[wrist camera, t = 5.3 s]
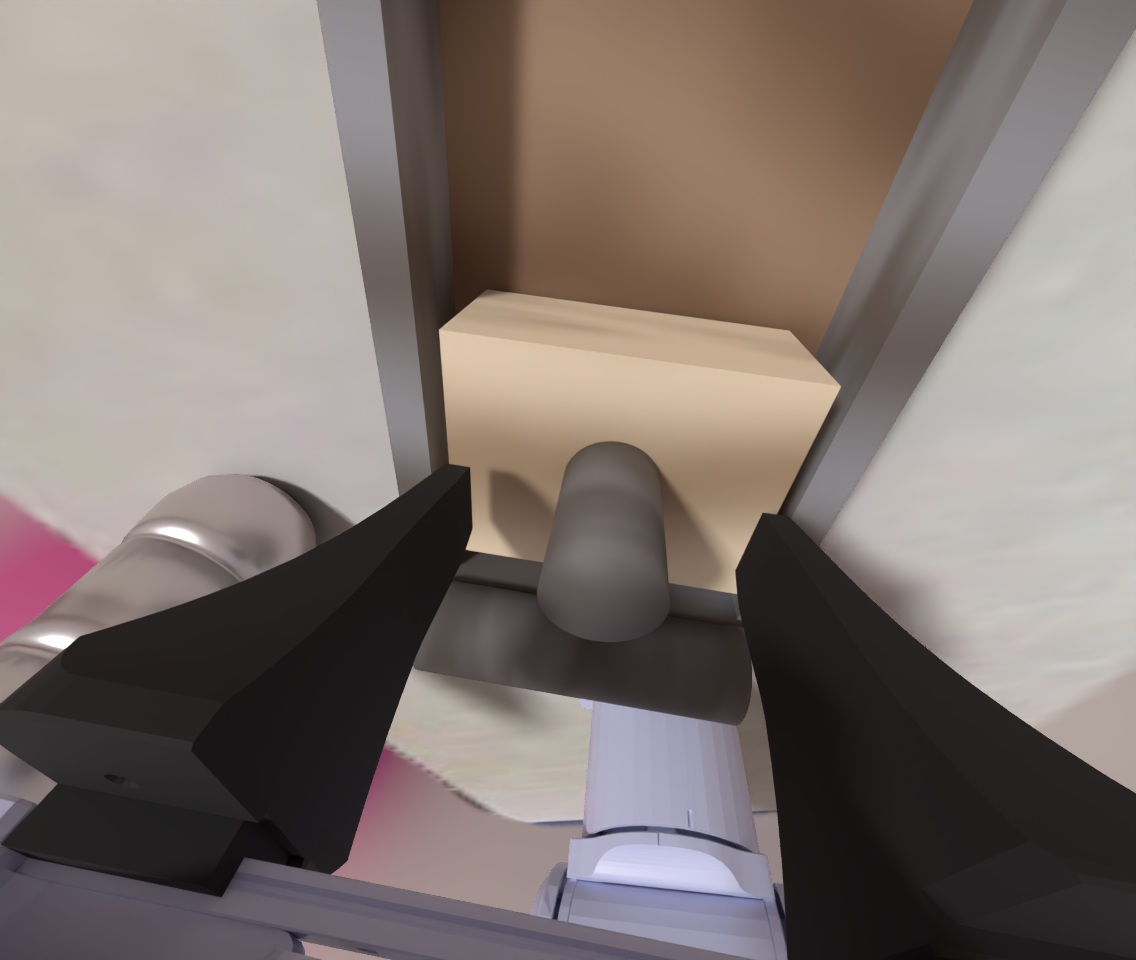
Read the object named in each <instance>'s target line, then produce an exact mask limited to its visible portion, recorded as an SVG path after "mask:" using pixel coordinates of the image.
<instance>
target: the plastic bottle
mask: <svg viewBox="0 0 1136 960" xmlns="http://www.w3.org/2000/svg"><path fill="white" fill-rule="evenodd" d="M314 548H316V536H315V529H314V527H313V524H312V522H311V520H310V518H309V517H308V515H307V513H306V512H305V511H304V510H303V509H302V507H301V506H300V505H299V504H298V503H297V502H296V501H295V500H294V499H293V498H291V497H290V496H289V495H288V494H286V493H285V492H283V491H282V490H281V489H279V488H277V487H276V486H274V485H272V484H270V483H268V482H266V481H263V480H261V479H258V478H255V477H251V476H248V475H240V474H230V475H214V476H207V477H204V478H201V479H198V480H196V481H194V482H192V483H190V484H188V485H186V486H184V487H182V488H180V489H178V490H176V491H174V492H172V493H170V494H168V495H167V496H166V497H164V498H163V499H162V500H161V501H160V502H159V503H157V504H156V505H155V506H154V507H153V508H152V509H151V510H150V511H149V512H148V513H147V514H146V515H145V516H144V517H143V518H142V519H141V520H139V521H138V522H137V524H136V525H135V526H134V527H133V528H132V529H131V530H130V532H129V533H128V534H127V535H126V536H125V537H124V539H123V541H122V543H121V544H120V545H119V546H117V547H116V548H115V549H114V550H113V551H112V552H110V553H109V554H108V555H107V556H106V557H105V558H104V559H102V560H101V561H100V562H99V563H98V564H97V565H96V566H94V567H93V568H92V569H91V570H90V571H89V572H88V573H86V574H85V575H84V576H83V577H82V578H81V579H80V580H78V581H77V582H76V583H75V584H74V585H73V586H72V587H70V588H69V589H68V590H67V591H66V592H65V593H64V594H62V595H61V596H60V597H59V598H58V599H57V600H56V601H55V602H53V603H52V604H51V605H50V606H49V607H48V608H47V609H45V610H44V611H43V612H42V613H41V614H40V615H38V616H37V617H36V618H35V619H33V620H32V621H30V622H29V623H28V624H26V625H25V626H23V627H22V628H21V629H19V630H18V631H16V632H15V633H13V634H12V635H10V636H9V637H8V638H6V639H5V640H3V641H2V642H1V644H0V703H1V702H2V701H4V700H5V699H6V698H7V697H8V696H10V695H11V694H12V693H13V692H14V691H15V690H17V689H18V688H19V687H20V686H21V685H23V684H24V683H25V682H26V681H27V680H28V679H30V678H31V677H32V676H33V675H34V674H36V673H37V672H38V671H39V670H40V669H41V668H43V667H44V666H45V665H46V664H47V663H49V662H50V661H51V660H52V659H53V658H54V657H56V656H57V655H58V654H59V653H60V652H62V651H63V650H64V649H65V648H66V647H67V646H69V645H70V644H71V643H72V642H73V641H75V640H76V639H77V638H78V637H80V636H82V635H85V634H89V633H92V632H96V631H99V630H102V629H106V628H109V627H112V626H115V625H118V624H122V623H125V622H128V621H131V620H134V619H138V618H141V617H144V616H147V615H150V614H154V613H157V612H160V611H163V610H166V609H169V608H172V607H175V606H178V605H181V604H183V603H186V602H189V601H192V600H194V599H197V598H200V597H203V596H205V595H208V594H211V593H214V592H216V591H219V590H221V589H224V588H226V587H229V586H232V585H234V584H237V583H239V582H242V581H244V580H247V579H249V578H251V577H253V576H256V575H258V574H260V573H262V572H265V571H267V570H269V569H271V568H274V567H276V566H278V565H280V564H283V563H285V562H287V561H289V560H292V559H294V558H296V557H298V556H300V555H302V554H304V553H306V552H308V551H310V550H312V549H314ZM57 784H58V783H56V782H54V781H53V780H51V779H50V778H48V777H47V776H45V775H44V774H42V773H41V772H39V771H38V770H36V769H35V768H33V767H32V766H30V765H29V764H27V763H26V762H24V761H23V760H21V759H20V758H18V757H17V756H15V755H14V754H12V753H11V752H9V751H8V750H6V749H5V748H4V747H3V746H1V745H0V793H1V794H7V795H11V796H15V797H19V798H22V799H25V800H28V801H30V802H33V803H35V804H37V805H38V804H39V803H40V802H41V801H42V800H43V799H44V798H45V796H46V795H47V794H48V793H49V792H50V791H51V790H52V789H53V788H54V787H55V786H56V785H57Z"/></svg>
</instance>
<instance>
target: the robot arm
mask: <svg viewBox="0 0 1136 960" xmlns="http://www.w3.org/2000/svg"><path fill="white" fill-rule="evenodd" d="M472 529H473V522H472V498H471V473H470V467H466V466H460V465H454V464H447V463H446V464H445V465H443V466H442V467H440V468H439V469H438V470H436V471H435V472H433V473H432V474H431V475H429V476H428V477H426V478H425V479H424V480H422V481H421V482H419V483H418V484H417V485H415V486H414V487H412V488H411V489H410V490H408V491H407V492H405V493H404V494H403V495H401V496H400V497H398V498H397V499H395V500H394V501H392V502H391V503H390V504H388V505H387V506H385V507H384V508H382V509H381V510H379V511H377V512H376V513H374V514H373V515H371V516H369V517H368V518H366V519H365V520H363V521H361V522H360V523H358V524H357V525H355V526H353V527H352V528H350V529H349V530H347V531H345V532H343V533H342V534H340V535H338V536H336V537H334V538H333V539H331V540H329V541H327V542H325V543H323V544H321V545H320V546H318V547H316V548H314V549H312V550H310V551H308V552H306V553H304V554H302V555H300V556H298V557H296V558H294V559H292V560H289V561H287V562H285V563H283V564H280V565H278V566H276V567H274V568H271V569H269V570H267V571H265V572H262V573H260V574H258V575H256V576H253V577H251V578H249V579H247V580H244V581H242V582H239V583H237V584H234V585H232V586H229V587H226V588H224V589H221V590H219V591H216V592H214V593H211V594H208V595H205V596H203V597H200V598H197V599H194V600H192V601H189V602H186V603H183V604H181V605H178V606H175V607H172V608H169V609H166V610H163V611H160V612H157V613H154V614H150V615H147V616H144V617H141V618H138V619H134V620H131V621H128V622H125V623H122V624H118V625H115V626H112V627H109V628H106V629H102V630H99V631H96V632H92V633H89V634H85V635H82V636H80V637H78V638H77V639H76V640H75V641H73V642H72V643H71V644H70V645H69V646H67V647H66V648H65V649H64V650H63V651H62V652H60V653H59V654H58V655H57V656H56V657H54V658H53V659H52V660H51V661H50V662H49V663H47V664H46V665H45V666H44V667H43V668H41V669H40V670H39V671H38V672H37V673H36V674H34V675H33V676H32V677H31V678H30V679H28V680H27V681H26V682H25V683H24V684H23V685H21V686H20V687H19V688H18V689H17V690H15V691H14V692H13V693H12V694H11V695H10V696H8V697H7V698H6V699H5V700H4V701H2V702H1V703H0V745H1V746H3V747H4V748H5V749H6V750H8V751H9V752H11V753H12V754H14V755H15V756H17V757H18V758H20V759H21V760H23V761H24V762H26V763H27V764H29V765H30V766H32V767H33V768H35V769H36V770H38V771H39V772H41V773H42V774H44V775H45V776H47V777H48V778H50V779H51V780H53V781H54V782H56V783H58V784H57V785H56V786H55V787H54V788H53V789H52V790H51V791H50V792H49V793H48V794H47V795H46V796H45V798H44V799H43V800H42V801H41V802H40V803H39V804H38V805H37V804H35V803H33V802H30V801H28V800H25V799H22V798H19V797H15V796H11V795H7V794H1V793H0V960H320V959H317V958H313V957H310V956H306V955H305V950H304V947H303V945H302V942H301V941H305V942H309V943H315V944H319V945H324V946H329V947H334V948H338V949H343V950H348V951H353V952H358V953H362V954H367V955H372V956H377V957H382V958H387V959H391V960H1136V793H1134V792H1133V791H1131V790H1129V789H1128V788H1126V787H1124V786H1123V785H1121V784H1119V783H1117V782H1116V781H1114V780H1113V779H1111V778H1109V777H1107V776H1106V775H1104V774H1103V773H1101V772H1100V771H1098V770H1096V769H1095V768H1094V767H1092V766H1090V765H1089V764H1087V763H1086V762H1084V761H1083V760H1081V759H1080V758H1078V757H1077V756H1075V755H1073V754H1072V753H1071V752H1069V751H1067V750H1066V749H1064V748H1063V747H1061V746H1060V745H1058V744H1057V743H1055V742H1054V741H1052V740H1051V739H1049V738H1047V737H1046V736H1044V735H1043V734H1042V733H1040V732H1039V731H1037V730H1036V729H1034V728H1033V727H1031V726H1030V725H1028V724H1027V723H1025V722H1024V721H1023V720H1021V719H1020V718H1018V717H1017V716H1015V715H1014V714H1012V713H1011V712H1010V711H1008V710H1007V709H1006V708H1004V707H1003V706H1001V705H1000V704H999V703H997V702H996V701H994V700H993V699H992V698H990V697H989V696H988V695H986V694H985V693H983V692H982V691H981V690H979V689H978V688H977V687H975V686H974V685H972V684H971V683H970V682H968V681H967V680H966V679H965V678H963V677H962V676H961V675H959V674H958V673H957V672H955V671H954V670H953V669H952V668H950V667H949V666H948V665H946V664H945V663H944V662H943V661H942V660H940V659H939V658H938V657H937V656H935V655H934V654H933V653H932V652H931V651H929V650H928V649H927V648H926V647H924V646H923V645H922V644H921V643H919V642H918V641H917V640H916V639H915V638H914V637H912V636H911V635H910V634H909V633H908V632H907V631H905V630H904V629H903V628H902V627H901V626H900V625H899V624H897V623H896V622H895V621H894V620H893V619H892V618H891V617H890V616H889V615H888V614H887V613H885V612H884V611H883V610H882V609H881V608H880V607H879V606H878V605H877V604H876V603H875V602H873V601H872V600H871V599H870V598H869V597H868V596H867V595H866V594H865V593H864V592H863V591H862V590H861V589H860V588H859V587H858V586H857V585H856V584H855V583H854V582H853V581H852V580H851V579H850V578H849V577H848V576H847V575H846V574H845V573H844V572H843V571H842V570H841V569H840V568H839V567H838V566H837V565H836V564H835V563H834V562H833V561H832V560H831V559H830V558H829V557H828V556H827V555H826V554H825V553H824V552H823V551H822V550H821V548H820V547H819V546H818V545H817V544H816V543H815V542H814V541H813V540H812V539H811V538H810V537H809V536H808V535H807V534H806V533H805V532H804V531H803V530H802V529H801V528H800V527H799V526H798V525H797V524H796V523H795V522H794V521H793V520H792V519H791V518H790V517H788V516H782V515H776V514H769V513H762V515H761V517H760V519H759V521H758V523H757V526H756V528H755V530H754V532H753V534H752V536H751V538H750V540H749V542H748V544H747V547H746V549H745V551H744V553H743V555H742V557H741V559H740V561H739V563H738V566H737V568H736V570H735V575H736V587H737V596H738V605H739V611H740V615H741V619H742V624H743V628H744V632H745V636H746V640H747V644H748V648H749V652H750V656H751V660H752V664H753V668H754V672H755V676H756V680H757V684H758V688H759V692H760V696H761V700H762V705H763V710H764V715H765V721H766V728H767V734H768V741H769V748H770V755H771V763H772V771H773V779H774V788H775V796H776V805H777V814H778V825H779V836H780V847H781V857H782V870H783V884H782V883H772V878H771V873H770V868H769V862H768V857H767V856H766V855H765V854H762V853H760V852H759V846H758V841H757V835H756V830H755V824H754V818H753V813H752V807H751V802H750V796H749V791H748V785H747V779H746V774H745V768H744V763H743V757H742V752H741V746H740V741H739V735H738V729H737V725H736V726H734V725H728V724H722V723H717V722H711V721H705V720H700V719H694V718H688V717H682V716H677V715H671V714H665V713H660V712H654V711H648V710H643V709H637V708H631V707H626V706H620V705H614V704H609V703H603V702H597V701H592V700H586V699H580V701H579V704H580V706H581V707H583V708H585V709H591V710H592V718H591V731H590V743H589V755H588V768H587V780H586V793H585V805H584V818H583V830H582V838H571V840H570V848H569V858H568V863H565V862H561V863H558V864H556V865H555V867H554V868H553V869H552V870H551V872H550V874H549V876H548V877H547V878H546V879H545V880H544V882H543V883H542V885H541V886H540V888H539V890H538V892H537V894H536V897H535V900H534V902H533V906H532V909H531V913H530V914H525V913H519V912H514V911H509V910H505V909H500V908H494V907H490V906H485V905H480V904H475V903H470V902H465V901H460V900H455V899H450V898H445V897H440V896H435V895H430V894H425V893H419V892H415V891H409V890H405V889H400V888H394V887H390V886H385V885H380V884H374V883H370V882H365V881H360V880H355V879H349V878H345V877H340V876H335V875H330V874H332V873H333V872H335V871H336V870H337V869H339V868H340V867H341V866H342V865H343V864H344V863H345V862H347V860H348V857H349V854H350V850H351V847H352V844H353V840H354V837H355V834H356V831H357V827H358V824H359V821H360V818H361V815H362V811H363V808H364V805H365V802H366V798H367V795H368V792H369V789H370V785H371V782H372V780H373V777H374V774H375V770H376V767H377V765H378V762H379V758H380V755H381V753H382V750H383V747H384V744H385V741H386V738H387V735H388V732H389V729H390V726H391V723H392V721H393V718H394V715H395V712H396V709H397V707H398V704H399V701H400V698H401V695H402V693H403V690H404V687H405V685H406V682H407V679H408V677H409V674H410V671H411V669H412V666H413V663H414V661H415V658H416V655H417V653H418V651H419V649H420V646H421V644H422V642H423V640H424V637H425V635H426V633H427V631H428V629H429V627H430V625H431V623H432V621H433V619H434V617H435V615H436V613H437V611H438V609H439V607H440V605H441V603H442V601H443V599H444V597H445V595H446V593H447V591H448V589H449V587H450V585H451V583H452V581H453V579H454V576H455V574H456V572H457V570H458V568H459V566H460V564H461V562H462V559H463V556H464V553H465V550H466V547H467V544H468V541H469V538H470V535H471V532H472ZM299 940H300V941H299Z"/></svg>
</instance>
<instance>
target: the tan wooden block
mask: <svg viewBox="0 0 1136 960" xmlns="http://www.w3.org/2000/svg"><path fill="white" fill-rule="evenodd" d="M439 337H440V350H441V363H442V376H443V389H444V402H445V415H446V428H447V442H448V455H449V464H454V465H460V466H466V467H470V473H471V498H472V522H473V529H472V532H471V535H470V538H469V541H468V544H467V547H466V550H470V551H476V552H482V553H488V554H494V555H500V556H507V557H513V558H519V559H525V560H531V561H537V562H543V567H542V571H541V575H540V580H539V584H538V589H537V599H538V603H539V605H540V608H541V610H542V611H543V613H544V614H545V615H546V617H547V618H548V619H549V620H550V621H551V622H552V623H554V624H555V625H556V626H557V627H559V628H561V629H562V630H564V631H566V632H568V633H570V634H572V635H575V636H577V637H580V638H584V639H588V640H593V641H600V642H621V641H628V640H633V639H636V638H640V637H642V636H644V635H647V634H649V633H650V632H652V631H654V630H655V629H656V628H658V627H659V626H660V625H661V624H662V623H663V621H664V620H665V619H666V617H667V615H668V612H669V609H670V593H669V583H672V584H678V585H684V586H690V587H697V588H703V589H709V590H715V591H721V592H727V593H733V594H737V587H736V575H735V570H736V568H737V566H738V563H739V561H740V559H741V557H742V555H743V553H744V551H745V549H746V547H747V544H748V542H749V540H750V538H751V536H752V534H753V532H754V530H755V528H756V526H757V523H758V521H759V519H760V517H761V515H762V513H769V514H776V515H777V513H778V511H779V509H780V507H781V505H782V503H783V501H784V499H785V497H786V495H787V493H788V491H789V489H790V487H791V485H792V483H793V481H794V479H795V477H796V475H797V473H798V471H799V469H800V467H801V465H802V463H803V461H804V459H805V457H806V455H807V453H808V451H809V449H810V447H811V445H812V443H813V441H814V440H815V438H816V436H817V434H818V432H819V430H820V428H821V426H822V424H823V422H824V420H825V418H826V416H827V414H828V412H829V410H830V408H831V406H832V404H833V402H834V400H835V398H836V396H837V394H838V392H839V390H840V388H841V386H840V385H839V384H838V382H837V381H836V380H835V379H834V378H833V377H832V376H831V375H830V374H829V373H828V372H827V371H826V370H825V368H824V367H823V366H822V365H821V364H820V363H819V362H818V361H817V360H816V359H815V358H814V357H813V355H812V354H811V353H810V352H809V351H808V350H807V349H806V348H805V347H804V346H803V345H802V344H801V343H800V341H799V340H798V339H797V338H796V337H795V336H794V335H793V334H792V333H791V332H790V331H789V330H782V329H774V328H767V327H760V326H752V325H745V324H738V323H730V322H723V321H716V320H708V319H701V318H694V317H686V316H679V315H672V314H664V313H657V312H650V311H642V310H635V309H628V308H620V307H613V306H606V305H598V304H591V303H584V302H576V301H569V300H562V299H554V298H547V297H540V296H532V295H525V294H518V293H510V292H503V291H496V290H488V289H487V290H486V291H485V292H483V293H482V294H481V295H480V296H479V297H477V298H476V299H475V300H474V301H473V302H471V303H470V304H469V305H468V306H467V307H465V308H464V309H463V310H462V311H461V312H460V313H458V314H457V315H456V316H455V317H454V318H452V319H451V320H450V321H449V322H448V323H446V324H445V325H444V326H443V327H442V328H440V329H439Z"/></svg>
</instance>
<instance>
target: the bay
mask: <svg viewBox="0 0 1136 960" xmlns="http://www.w3.org/2000/svg"><path fill="white" fill-rule="evenodd" d="M317 6H318V12H319V18H320V24H321V29H322V35H323V41H324V47H325V53H326V59H327V65H328V71H329V77H330V83H331V89H332V95H333V101H334V107H335V113H336V119H337V125H338V131H339V137H340V143H341V149H342V155H343V161H344V167H345V173H346V179H347V185H348V191H349V197H350V203H351V209H352V215H353V221H354V227H355V233H356V239H357V245H358V251H359V257H360V263H361V269H362V275H363V281H364V287H365V293H366V299H367V305H368V311H369V317H370V323H371V329H372V335H373V341H374V347H375V353H376V359H377V365H378V371H379V377H380V383H381V389H382V395H383V401H384V407H385V413H386V419H387V425H388V431H389V437H390V443H391V449H392V455H393V461H394V467H395V473H396V479H397V485H398V491H399V497H400V496H401V495H403V494H404V493H405V492H407V491H408V490H410V489H411V488H412V487H414V486H415V485H417V484H418V483H419V482H421V481H422V480H424V479H425V478H426V477H428V476H429V475H431V474H432V473H433V472H435V471H436V470H438V469H439V468H440V467H442V466H443V465H445V464H446V463H447V464H449V455H448V442H447V428H446V415H445V402H444V389H443V376H442V363H441V350H440V337H439V329H440V328H442V327H443V326H444V325H445V324H446V323H448V322H449V321H450V320H451V319H452V318H454V317H455V316H456V315H457V314H458V313H460V312H461V311H462V310H463V309H464V308H465V307H467V306H468V305H469V304H470V303H471V302H473V301H474V300H475V299H476V298H477V297H479V296H480V295H481V294H482V293H483V292H485V291H486V290H487V289H488V290H496V291H503V292H510V293H518V294H525V295H532V296H540V297H547V298H554V299H562V300H569V301H576V302H584V303H591V304H598V305H606V306H613V307H620V308H628V309H635V310H642V311H650V312H657V313H664V314H672V315H679V316H686V317H694V318H701V319H708V320H716V321H723V322H730V323H738V324H745V325H752V326H760V327H767V328H774V329H782V330H789V331H790V332H791V333H792V334H793V335H794V336H795V337H796V338H797V339H798V340H799V341H800V343H801V344H802V345H803V346H804V347H805V348H806V349H807V350H808V351H809V352H810V353H811V354H812V355H813V357H814V358H815V359H816V360H817V361H818V362H819V363H820V364H821V365H822V366H823V367H824V368H825V370H826V371H827V372H828V373H829V374H830V375H831V376H832V377H833V378H834V379H835V380H836V381H837V382H838V384H839V385H840V386H841V388H840V390H839V392H838V394H837V396H836V398H835V400H834V402H833V404H832V406H831V408H830V410H829V412H828V414H827V416H826V418H825V420H824V422H823V424H822V426H821V428H820V430H819V432H818V434H817V436H816V438H815V440H814V441H813V443H812V445H811V447H810V449H809V451H808V453H807V455H806V457H805V459H804V461H803V463H802V465H801V467H800V469H799V471H798V473H797V475H796V477H795V479H794V481H793V483H792V485H791V487H790V489H789V491H788V493H787V495H786V497H785V499H784V501H783V503H782V505H781V507H780V509H779V511H778V513H777V515H782V516H788V517H790V518H791V519H792V520H793V521H794V522H795V523H796V524H797V525H798V526H799V527H800V528H801V529H802V530H803V531H804V532H805V533H806V534H807V535H808V536H809V537H810V538H811V539H812V540H813V541H814V542H815V543H816V544H817V545H818V546H819V544H820V543H821V541H822V539H823V538H824V536H825V535H826V533H827V531H828V530H829V528H830V526H831V525H832V523H833V521H834V520H835V518H836V517H837V515H838V513H839V512H840V510H841V508H842V507H843V505H844V503H845V502H846V500H847V499H848V497H849V495H850V494H851V492H852V490H853V489H854V487H855V486H856V484H857V482H858V481H859V479H860V477H861V476H862V474H863V472H864V471H865V469H866V468H867V466H868V464H869V463H870V461H871V459H872V458H873V456H874V454H875V453H876V451H877V450H878V448H879V446H880V445H881V443H882V441H883V440H884V438H885V437H886V435H887V433H888V432H889V430H890V428H891V427H892V425H893V423H894V422H895V420H896V419H897V417H898V415H899V414H900V412H901V410H902V409H903V407H904V405H905V404H906V402H907V401H908V399H909V397H910V396H911V394H912V392H913V391H914V389H915V388H916V386H917V384H918V383H919V381H920V379H921V378H922V376H923V374H924V373H925V371H926V370H927V368H928V366H929V365H930V363H931V361H932V360H933V358H934V356H935V355H936V353H937V352H938V350H939V348H940V347H941V345H942V343H943V342H944V340H945V339H946V337H947V335H948V334H949V332H950V330H951V329H952V327H953V325H954V324H955V322H956V321H957V319H958V317H959V316H960V314H961V312H962V311H963V309H964V308H965V306H966V304H967V303H968V301H969V299H970V298H971V296H972V294H973V293H974V291H975V290H976V288H977V286H978V285H979V283H980V281H981V280H982V278H983V276H984V275H985V273H986V272H987V270H988V268H989V267H990V265H991V263H992V262H993V260H994V259H995V257H996V255H997V254H998V252H999V250H1000V249H1001V247H1002V245H1003V244H1004V242H1005V241H1006V239H1007V237H1008V236H1009V234H1010V232H1011V231H1012V229H1013V227H1014V226H1015V224H1016V223H1017V221H1018V219H1019V218H1020V216H1021V214H1022V213H1023V211H1024V210H1025V208H1026V206H1027V205H1028V203H1029V201H1030V200H1031V198H1032V196H1033V195H1034V193H1035V192H1036V190H1037V188H1038V187H1039V185H1040V183H1041V182H1042V180H1043V178H1044V177H1045V175H1046V174H1047V172H1048V170H1049V169H1050V167H1051V165H1052V164H1053V162H1054V161H1055V159H1056V157H1057V156H1058V154H1059V152H1060V151H1061V149H1062V147H1063V146H1064V144H1065V143H1066V141H1067V139H1068V138H1069V136H1070V134H1071V133H1072V131H1073V129H1074V128H1075V126H1076V125H1077V123H1078V121H1079V120H1080V118H1081V116H1082V115H1083V113H1084V112H1085V110H1086V108H1087V107H1088V105H1089V103H1090V102H1091V100H1092V98H1093V97H1094V95H1095V94H1096V92H1097V90H1098V89H1099V87H1100V85H1101V84H1102V82H1103V80H1104V79H1105V77H1106V76H1107V74H1108V72H1109V71H1110V69H1111V67H1112V66H1113V64H1114V63H1115V61H1116V59H1117V58H1118V56H1119V54H1120V53H1121V51H1122V49H1123V48H1124V46H1125V45H1126V43H1127V41H1128V40H1129V38H1130V36H1131V35H1132V33H1133V31H1134V30H1135V28H1136V0H317ZM542 567H543V562H537V561H531V560H525V559H519V558H513V557H507V556H500V555H494V554H488V553H482V552H476V551H470V550H465V553H464V556H463V559H462V562H461V564H460V566H459V568H458V570H457V572H456V574H455V576H454V579H453V581H452V583H451V585H450V587H449V589H448V591H447V593H446V595H445V597H444V599H443V601H442V603H441V605H440V607H439V609H438V611H437V613H436V615H435V617H434V619H433V621H432V623H431V625H430V627H429V629H428V631H427V633H426V635H425V637H424V640H423V642H422V644H421V646H420V649H419V651H418V653H417V655H416V658H415V661H414V663H413V666H414V668H415V669H417V670H421V671H427V672H433V673H438V674H444V675H450V676H456V677H461V678H467V679H473V680H478V681H484V682H490V683H495V684H501V685H507V686H512V687H518V688H524V689H529V690H535V691H541V692H546V693H552V694H558V695H563V696H569V697H575V698H580V699H586V700H592V701H597V702H603V703H609V704H614V705H620V706H626V707H631V708H637V709H643V710H648V711H654V712H660V713H665V714H671V715H677V716H682V717H688V718H694V719H700V720H705V721H711V722H717V723H722V724H728V725H734V726H736V725H739V724H740V723H741V722H742V721H743V719H744V717H745V715H746V713H747V710H748V706H749V702H750V696H751V688H752V665H751V656H750V652H749V648H748V644H747V640H746V636H745V632H744V628H743V624H742V619H741V615H740V611H739V605H738V596H737V594H733V593H727V592H721V591H715V590H709V589H703V588H697V587H690V586H684V585H678V584H672V583H669V593H670V609H669V612H668V615H667V617H666V619H665V620H664V621H663V623H662V624H661V625H660V626H659V627H658V628H656V629H655V630H654V631H652V632H650V633H649V634H647V635H644V636H642V637H640V638H636V639H633V640H628V641H621V642H600V641H593V640H588V639H584V638H580V637H577V636H575V635H572V634H570V633H568V632H566V631H564V630H562V629H561V628H559V627H557V626H556V625H555V624H554V623H552V622H551V621H550V620H549V619H548V618H547V617H546V615H545V614H544V613H543V611H542V610H541V608H540V605H539V603H538V599H537V589H538V584H539V580H540V575H541V571H542Z"/></svg>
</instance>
